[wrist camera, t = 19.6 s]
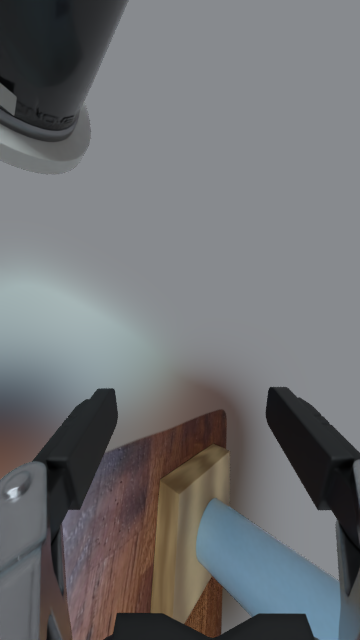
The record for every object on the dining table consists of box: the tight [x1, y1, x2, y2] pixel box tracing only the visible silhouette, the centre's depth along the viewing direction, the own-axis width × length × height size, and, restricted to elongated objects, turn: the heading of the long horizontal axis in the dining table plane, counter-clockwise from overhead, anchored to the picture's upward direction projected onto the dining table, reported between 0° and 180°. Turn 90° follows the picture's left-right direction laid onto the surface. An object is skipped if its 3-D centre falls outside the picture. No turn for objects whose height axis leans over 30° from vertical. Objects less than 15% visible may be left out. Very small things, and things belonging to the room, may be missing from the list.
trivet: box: [150, 444, 230, 624], centre depth 22 cm, size 12×12×3 cm
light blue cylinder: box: [196, 498, 341, 640], centre depth 15 cm, size 6×6×19 cm
